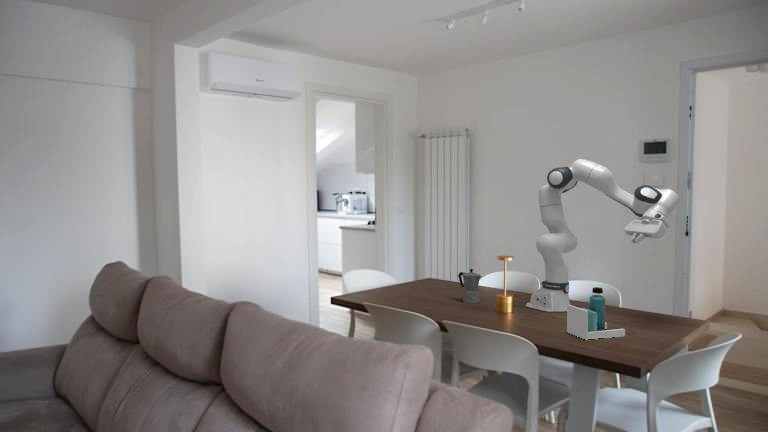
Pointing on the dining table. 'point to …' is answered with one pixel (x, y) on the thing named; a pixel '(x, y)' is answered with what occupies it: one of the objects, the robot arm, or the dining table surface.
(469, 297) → the coffeepot
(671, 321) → the dining table surface
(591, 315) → the pusher
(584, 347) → the dining table surface
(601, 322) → the beverage bottle
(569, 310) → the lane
